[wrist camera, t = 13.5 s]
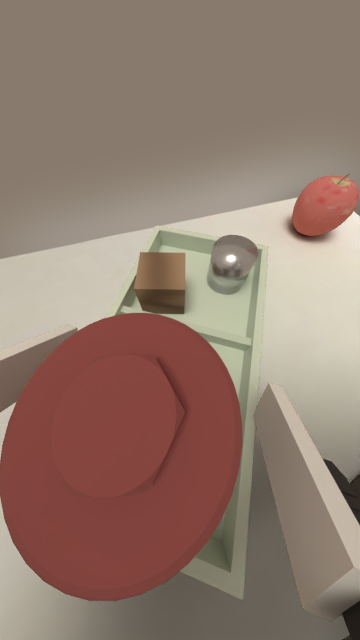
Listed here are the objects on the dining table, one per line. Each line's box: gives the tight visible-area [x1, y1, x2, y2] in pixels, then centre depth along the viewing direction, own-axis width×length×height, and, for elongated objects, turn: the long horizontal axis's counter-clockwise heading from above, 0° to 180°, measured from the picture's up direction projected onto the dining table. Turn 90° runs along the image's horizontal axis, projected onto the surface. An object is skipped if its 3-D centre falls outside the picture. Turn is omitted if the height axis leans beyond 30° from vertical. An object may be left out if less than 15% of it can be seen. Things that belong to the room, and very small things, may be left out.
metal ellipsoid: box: [207, 235, 258, 295], centre depth 21 cm, size 5×5×5 cm
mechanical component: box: [0, 313, 242, 601], centre depth 11 cm, size 12×10×10 cm
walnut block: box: [134, 252, 185, 314], centre depth 19 cm, size 5×5×5 cm
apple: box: [292, 174, 359, 236], centre depth 25 cm, size 7×7×8 cm
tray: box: [106, 226, 269, 600], centre depth 18 cm, size 16×30×3 cm, turn 164°
